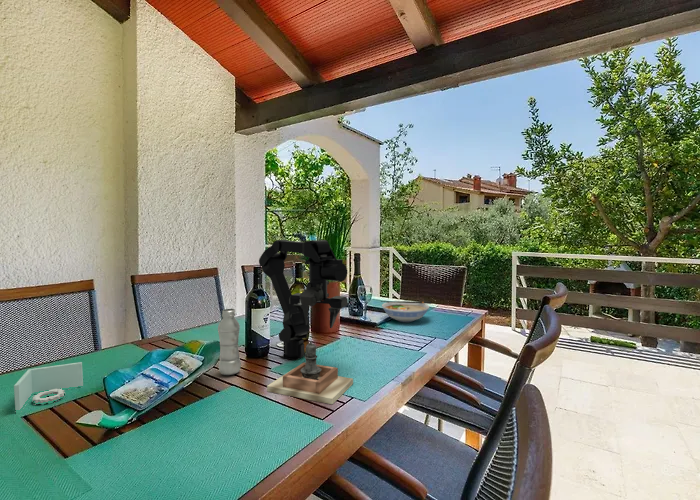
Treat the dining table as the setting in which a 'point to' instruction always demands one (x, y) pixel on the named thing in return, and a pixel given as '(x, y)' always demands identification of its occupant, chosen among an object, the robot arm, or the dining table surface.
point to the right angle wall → (47, 382)
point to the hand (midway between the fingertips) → (318, 326)
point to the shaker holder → (312, 385)
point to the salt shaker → (311, 363)
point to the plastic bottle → (229, 343)
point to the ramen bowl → (405, 310)
